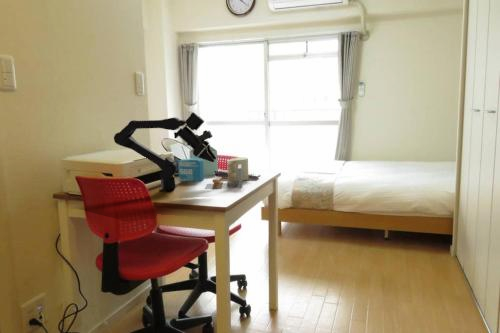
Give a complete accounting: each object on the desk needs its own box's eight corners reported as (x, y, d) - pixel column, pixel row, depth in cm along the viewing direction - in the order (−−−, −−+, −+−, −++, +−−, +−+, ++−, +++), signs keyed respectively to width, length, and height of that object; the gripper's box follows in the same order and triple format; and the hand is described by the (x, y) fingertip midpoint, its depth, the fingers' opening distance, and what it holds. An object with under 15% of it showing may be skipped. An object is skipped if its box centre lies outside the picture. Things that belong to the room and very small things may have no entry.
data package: (179, 182, 200) (177, 160, 198) (183, 181, 204) (181, 158, 202) (201, 183, 197) (199, 159, 195) (204, 181, 201) (202, 158, 199)
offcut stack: (212, 188, 178) (212, 180, 178) (214, 183, 188) (214, 176, 187) (221, 187, 178) (221, 180, 178) (223, 183, 188) (222, 176, 187)
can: (235, 178, 204) (233, 156, 202) (251, 179, 201) (250, 156, 199) (228, 182, 196) (227, 159, 194) (245, 182, 193) (244, 159, 191)
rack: (204, 191, 177) (203, 169, 176) (207, 185, 189) (206, 165, 188) (242, 189, 177) (241, 168, 176) (242, 184, 189) (242, 164, 188)
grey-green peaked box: (186, 177, 215) (184, 142, 212) (191, 174, 223) (188, 140, 220) (214, 177, 212) (212, 141, 209) (218, 174, 220) (216, 139, 217)
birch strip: (228, 186, 182) (227, 160, 180) (228, 184, 184) (227, 160, 182) (236, 185, 182) (235, 160, 180) (236, 184, 184) (235, 159, 182)
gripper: (198, 126, 169) (225, 150, 171) (203, 124, 188) (227, 145, 189) (182, 144, 171) (208, 168, 172) (188, 140, 189) (212, 162, 191)
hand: (214, 160), depth 181 cm, fingers open, 9 cm apart
